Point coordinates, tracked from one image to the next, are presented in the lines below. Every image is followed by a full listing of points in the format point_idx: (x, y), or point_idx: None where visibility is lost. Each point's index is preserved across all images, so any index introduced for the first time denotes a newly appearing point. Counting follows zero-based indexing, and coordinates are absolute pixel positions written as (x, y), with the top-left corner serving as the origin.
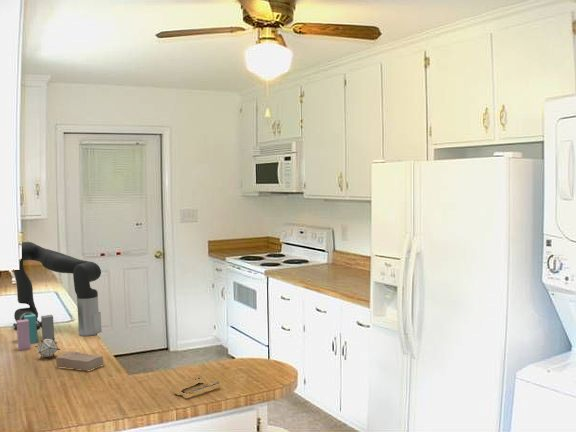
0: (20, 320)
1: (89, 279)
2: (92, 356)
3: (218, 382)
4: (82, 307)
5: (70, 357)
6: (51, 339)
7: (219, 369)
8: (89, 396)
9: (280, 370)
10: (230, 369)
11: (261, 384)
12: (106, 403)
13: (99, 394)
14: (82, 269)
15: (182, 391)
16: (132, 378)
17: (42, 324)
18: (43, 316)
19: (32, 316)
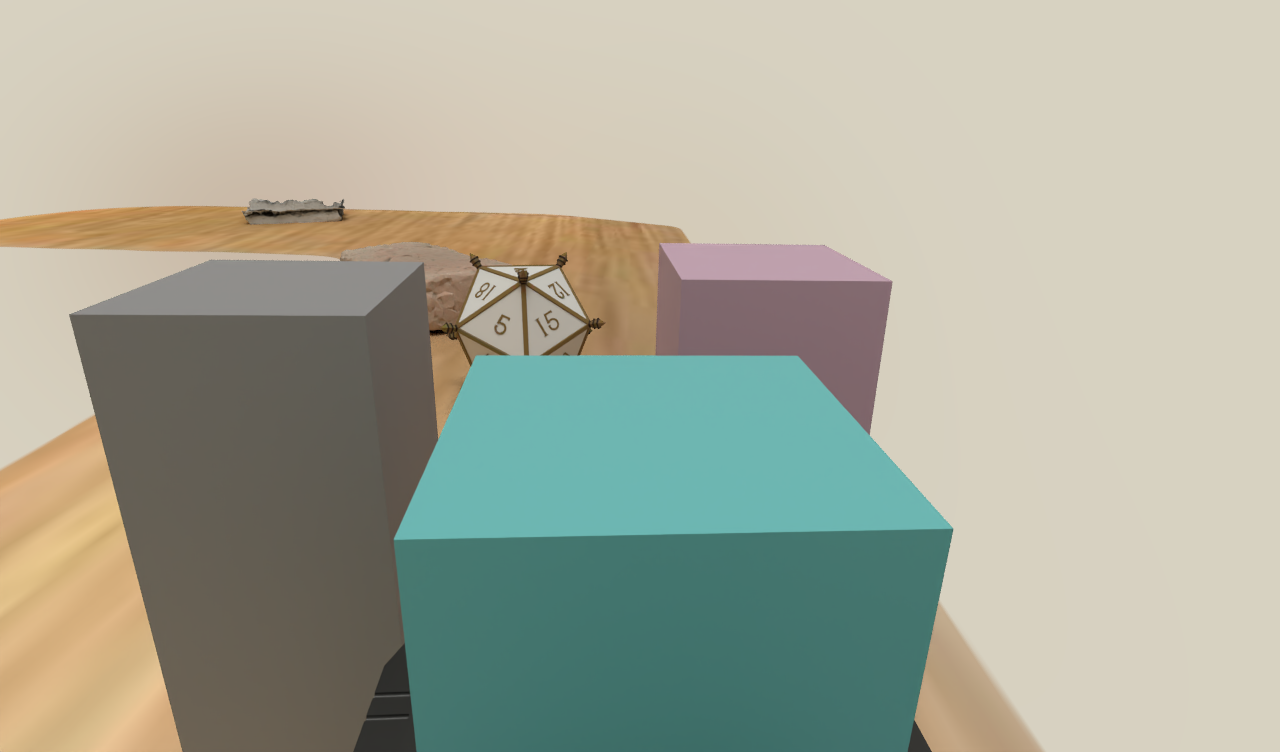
0: (808, 270)
1: None
2: (382, 251)
3: (252, 201)
4: None
5: (464, 261)
6: (491, 268)
7: (124, 235)
8: (500, 237)
9: (48, 217)
10: (107, 231)
11: (174, 210)
12: (482, 226)
13: (476, 237)
14: None
15: (342, 202)
16: (350, 249)
17: (433, 383)
18: (344, 292)
19: (574, 362)
